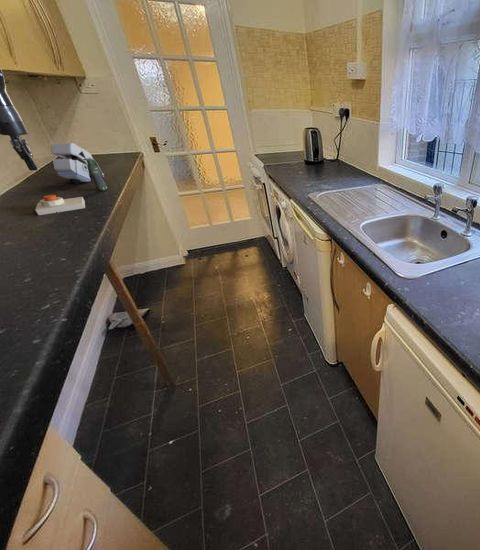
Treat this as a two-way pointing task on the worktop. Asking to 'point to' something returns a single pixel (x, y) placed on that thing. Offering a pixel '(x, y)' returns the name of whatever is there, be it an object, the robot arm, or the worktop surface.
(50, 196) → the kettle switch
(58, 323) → the worktop surface
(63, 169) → the robotic device
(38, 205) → the button base
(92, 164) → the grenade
